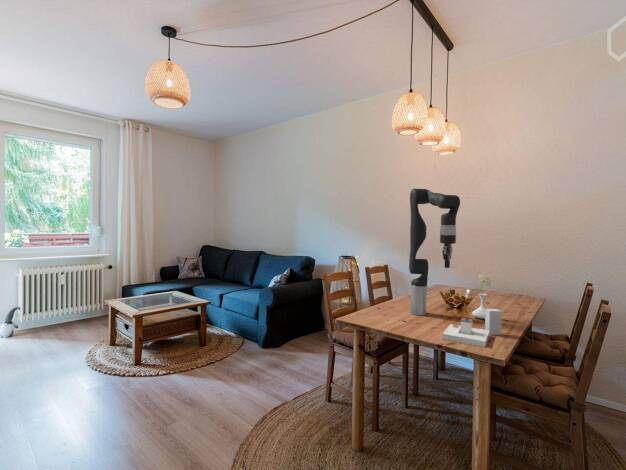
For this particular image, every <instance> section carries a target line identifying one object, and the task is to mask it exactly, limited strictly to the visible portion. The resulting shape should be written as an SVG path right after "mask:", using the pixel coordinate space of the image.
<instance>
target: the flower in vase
mask: <svg viewBox="0 0 626 470" xmlns="http://www.w3.org/2000/svg"><path fill="white" fill-rule="evenodd" d="M478 277H479V281H480V282H481V284H480V287H479V286H478V288H477V290H479V291H480V292H481V293H478V296H479V297H480V306H479V307H478V308H476V309H475V310H473V311H472V312H471V315H472V316H473V317H475V318H478V319H483V320H485V309H488V308H487V307H486V299H487V297H488V296H489V294H488V293H483V292H485V291H487V290H488V289H487V288H486V289H484V290H482V286H483V285H485V287H490V286H491V282H490V279H489V278H488V277H487V276H486V275H483V273H481V274H479V275H478Z"/></svg>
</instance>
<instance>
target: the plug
mask: <svg viewBox="0 0 626 470" xmlns="http://www.w3.org/2000/svg"><path fill="white" fill-rule="evenodd" d="M460 326H461V330H460V333H461V334H467V335H472V328H473V319H472V318H468V317H467V318H466V317H462V318H461V319H460Z"/></svg>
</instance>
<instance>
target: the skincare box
mask: <svg viewBox="0 0 626 470" xmlns="http://www.w3.org/2000/svg"><path fill="white" fill-rule="evenodd" d="M484 320H485V321H484V322H485V323H484V330H488V331H490V332H489V336H501V335H502V310H500V309H498V308H487V309H485V319H484Z"/></svg>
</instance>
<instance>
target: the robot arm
mask: <svg viewBox="0 0 626 470" xmlns="http://www.w3.org/2000/svg"><path fill="white" fill-rule="evenodd" d="M427 204H430V205H432V206H434V207H437V208H439V209H441V210H442V209H443V210H444V209H445V210H448V209H449V211H448V212H446V213H443V214H441V216H440V229H439V230H440V231H439V243H440V244H443V247H442V252H441V253H442V258H443V260H444V268H445V269H449V268H451V266H450V265H451V260H452V255H453V246H452V244H453V245H454V244H455V245H456V243H457V239H456V238H457V226H456V225H457V215H458V212H459V209H460V206H461V199H460V197H459V196H458V195H456V194H444V193H440V192H433V191H431V190H429V189H426V188H412V189H411V191H410V192H409V205H410V207H409V208H410V226H409V228H410V229H409V230H410V233H409V236H410V238H409V241H410V242H409V243H410V245H409V246H410V248H409V260H408V261H409V262H408V265H409V266H408V270H409V273H410V274H411V275H420V276H418V277H417V278H413V279H412V280H411V284H410V287H411V288H410V314H411V315H415V316H425V315H427V314H428V313H427V311H428V310H427V309H428V307H427V305H428V301H427V300H428V279H429V267H430V266H429V261H428V259H426V258H417V257H416V256H417V253H418V251H419V250H420V248H421V246H422V245H423V243H424V242H425V241H426V238H427V224H426V222H425V220H424V219H423V217H422V216H421V215H422V214H420V210H419V205H427Z"/></svg>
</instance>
